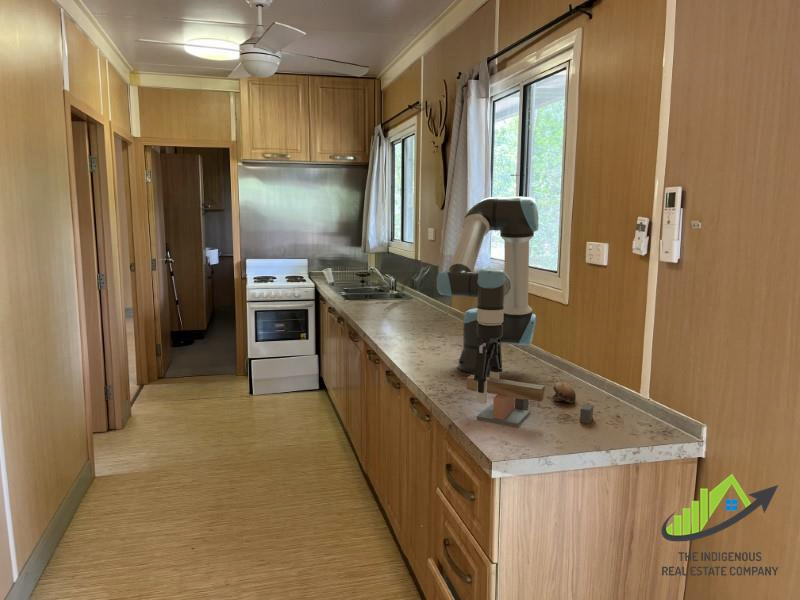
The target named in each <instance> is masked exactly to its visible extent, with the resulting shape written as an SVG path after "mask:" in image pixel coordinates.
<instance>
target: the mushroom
mask: <svg viewBox="0 0 800 600" xmlns="http://www.w3.org/2000/svg"><path fill="white" fill-rule="evenodd" d="M553 391H554V394H552V395H551V397H552V399H553V400H554V401H555V402H561V401H565V402H567V403H569V404H573V403H574V402H575V400H576V398H577V397H576V396H577V394H576V392H575V390H574V388H573V387H572V386H571V385H570V384H568V383H566V382H564V381H563V382H562V381H560V382H556V383H554V385H553Z"/></svg>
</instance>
